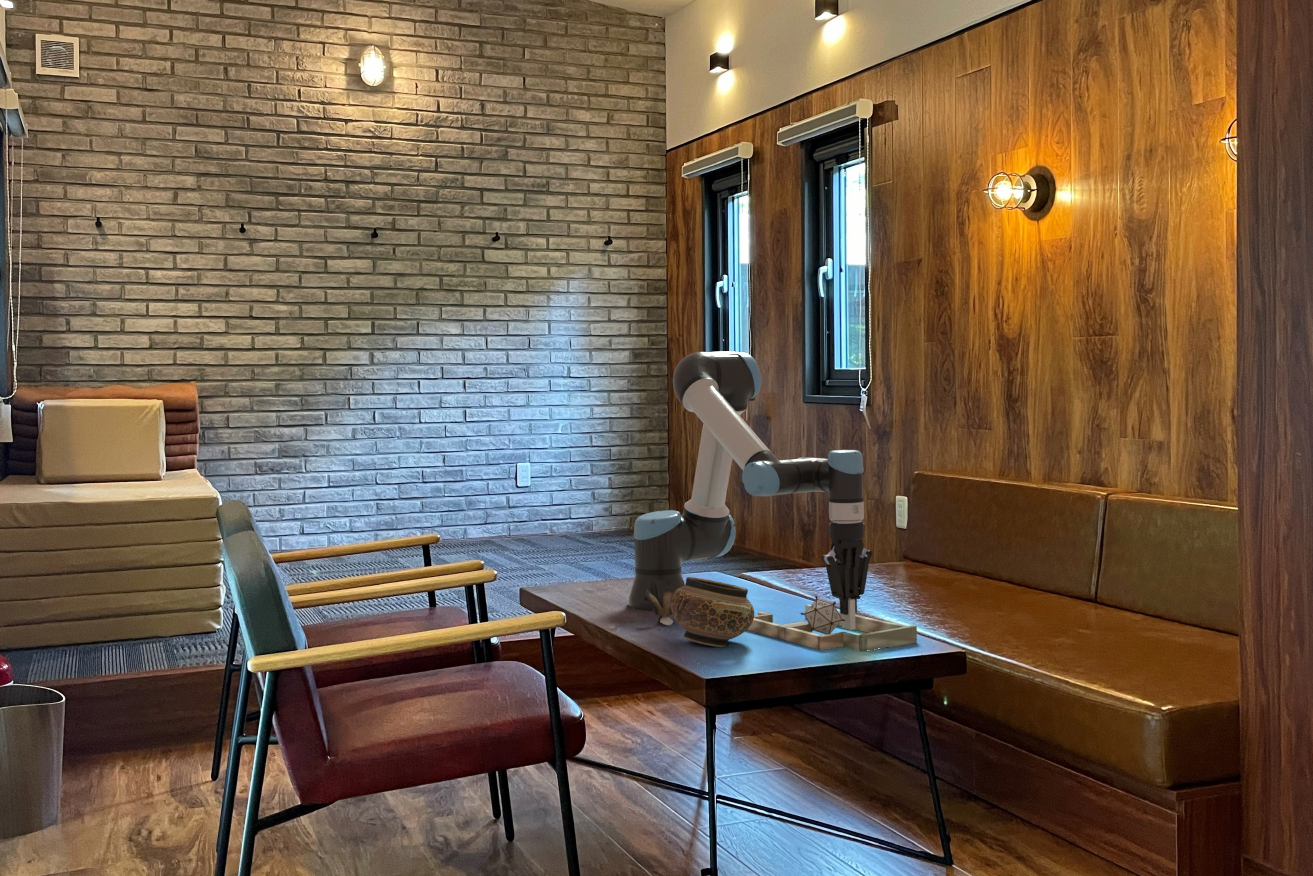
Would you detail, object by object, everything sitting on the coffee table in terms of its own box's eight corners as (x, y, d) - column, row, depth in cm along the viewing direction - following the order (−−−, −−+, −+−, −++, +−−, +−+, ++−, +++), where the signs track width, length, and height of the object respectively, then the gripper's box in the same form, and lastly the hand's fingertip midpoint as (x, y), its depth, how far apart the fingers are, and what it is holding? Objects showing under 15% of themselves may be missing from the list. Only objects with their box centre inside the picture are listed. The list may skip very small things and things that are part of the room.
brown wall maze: (737, 628, 277) (736, 613, 277) (809, 616, 289) (809, 602, 289) (841, 656, 248) (840, 639, 248) (917, 642, 260) (916, 626, 259)
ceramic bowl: (651, 640, 267) (650, 572, 267) (723, 631, 275) (722, 565, 274) (700, 663, 245) (699, 589, 244) (777, 653, 252) (776, 581, 251)
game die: (805, 629, 272) (787, 612, 264) (829, 600, 273) (812, 582, 265) (832, 651, 266) (815, 634, 258) (857, 621, 267) (841, 604, 259)
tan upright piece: (664, 622, 286) (663, 584, 286) (685, 626, 281) (685, 587, 281) (640, 627, 281) (639, 589, 280) (662, 631, 276) (661, 592, 275)
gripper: (835, 525, 259) (837, 635, 260) (880, 520, 266) (882, 627, 267) (812, 522, 265) (814, 629, 266) (857, 517, 272) (859, 622, 273)
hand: (848, 628), depth 266 cm, fingers closed
